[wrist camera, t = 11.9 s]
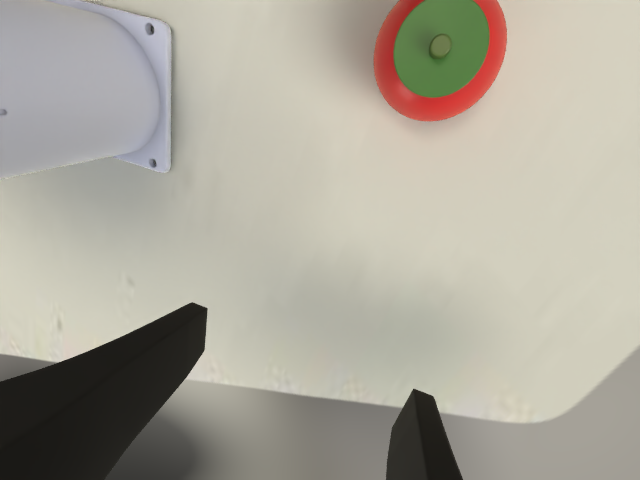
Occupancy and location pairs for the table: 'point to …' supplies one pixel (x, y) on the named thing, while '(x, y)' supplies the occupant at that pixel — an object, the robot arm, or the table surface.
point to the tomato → (439, 55)
